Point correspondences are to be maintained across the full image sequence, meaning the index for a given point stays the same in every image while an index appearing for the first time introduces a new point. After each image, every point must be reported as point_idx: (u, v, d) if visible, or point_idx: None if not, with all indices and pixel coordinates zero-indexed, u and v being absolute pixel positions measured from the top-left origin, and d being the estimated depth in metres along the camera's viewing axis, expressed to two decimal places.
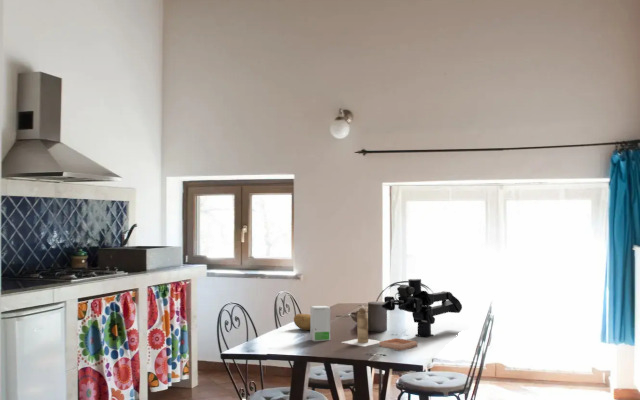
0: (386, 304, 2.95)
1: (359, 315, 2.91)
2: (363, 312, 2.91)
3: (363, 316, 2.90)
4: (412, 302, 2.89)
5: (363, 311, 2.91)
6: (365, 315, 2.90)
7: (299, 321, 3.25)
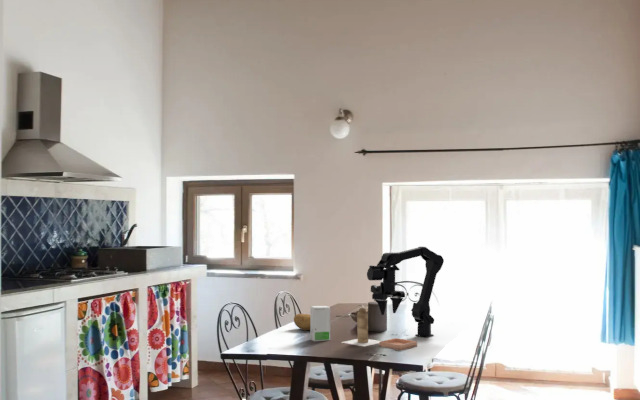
0: (393, 306, 3.03)
1: (359, 315, 2.91)
2: (363, 312, 2.91)
3: (363, 316, 2.90)
4: (376, 300, 2.95)
5: (363, 311, 2.91)
6: (365, 315, 2.90)
7: (299, 321, 3.25)
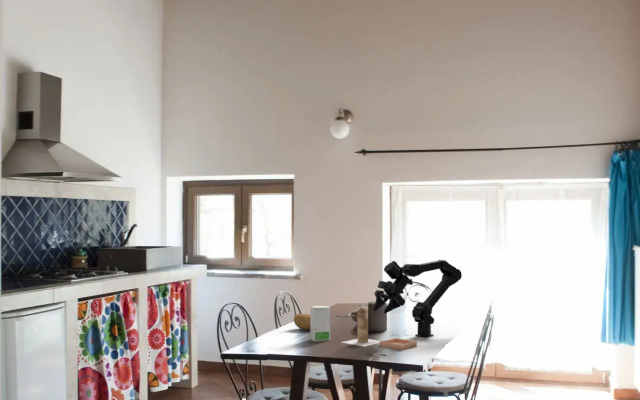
0: (376, 305, 3.01)
1: (359, 315, 2.91)
2: (363, 312, 2.91)
3: (363, 316, 2.90)
4: (394, 300, 2.91)
5: (363, 311, 2.91)
6: (365, 315, 2.90)
7: (299, 321, 3.25)
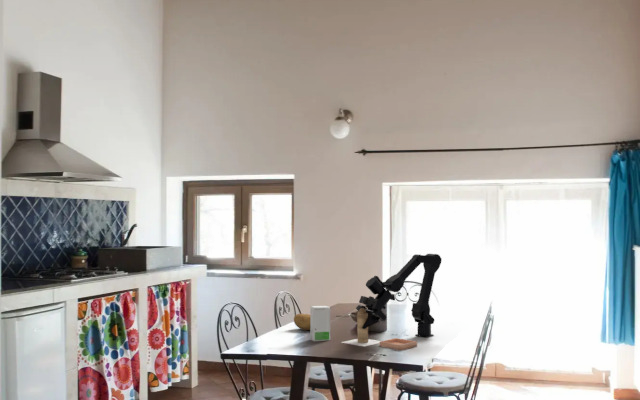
0: None
1: (359, 315, 2.91)
2: (363, 312, 2.91)
3: (363, 316, 2.90)
4: (372, 315, 2.88)
5: (363, 311, 2.91)
6: (365, 315, 2.90)
7: (299, 321, 3.25)
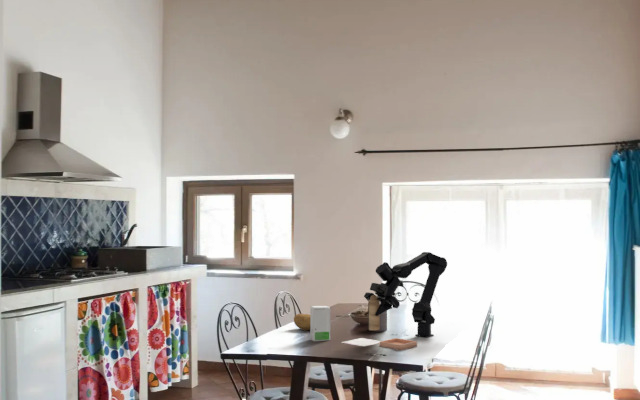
0: None
1: (371, 302, 2.87)
2: (375, 299, 2.88)
3: (375, 303, 2.87)
4: (385, 302, 2.86)
5: (375, 298, 2.88)
6: (377, 302, 2.87)
7: (299, 321, 3.25)
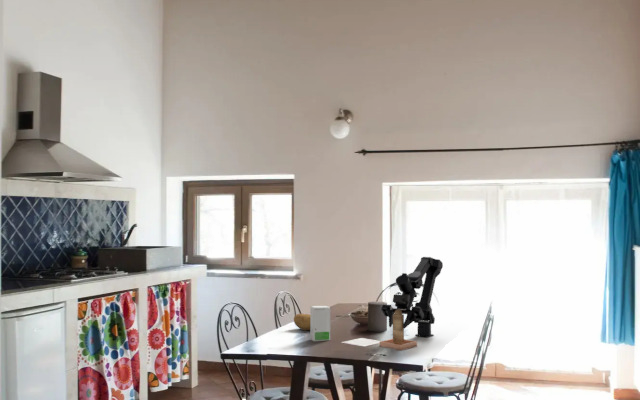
0: (391, 320, 2.86)
1: (398, 317, 2.81)
2: (400, 313, 2.83)
3: (402, 317, 2.82)
4: (413, 314, 2.82)
5: (401, 312, 2.83)
6: (403, 316, 2.83)
7: (299, 321, 3.25)
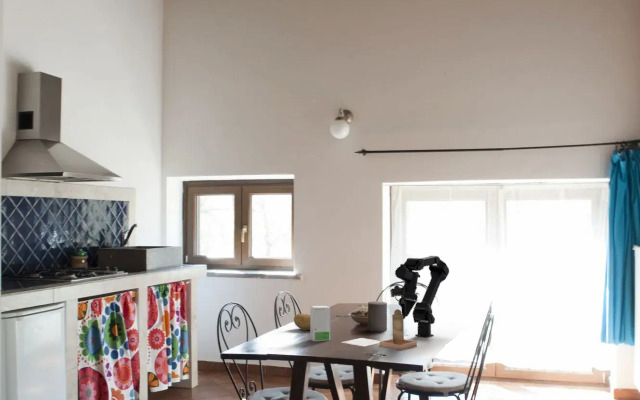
0: (403, 312, 2.99)
1: (397, 317, 2.81)
2: (400, 314, 2.83)
3: (401, 318, 2.82)
4: (406, 300, 2.89)
5: (400, 312, 2.83)
6: (402, 316, 2.82)
7: (299, 321, 3.25)
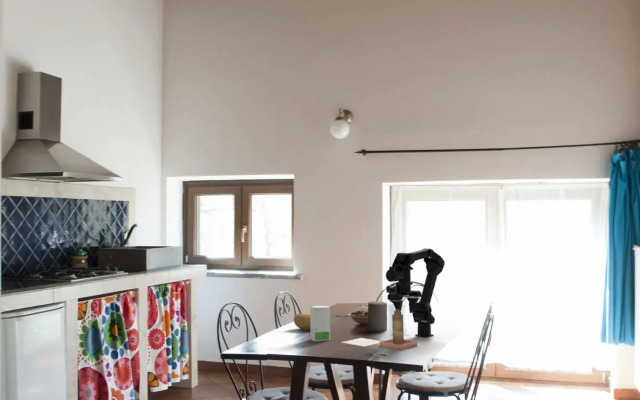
0: (410, 306, 3.00)
1: (397, 317, 2.81)
2: (400, 314, 2.82)
3: (401, 318, 2.82)
4: (392, 301, 2.93)
5: (400, 313, 2.82)
6: (402, 316, 2.82)
7: (299, 321, 3.25)
